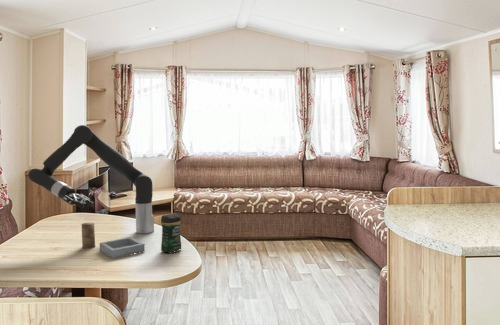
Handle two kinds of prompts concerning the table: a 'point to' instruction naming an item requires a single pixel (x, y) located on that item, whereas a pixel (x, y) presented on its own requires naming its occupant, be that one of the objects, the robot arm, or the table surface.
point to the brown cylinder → (88, 235)
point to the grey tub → (121, 247)
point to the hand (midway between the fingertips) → (88, 206)
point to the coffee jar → (171, 232)
